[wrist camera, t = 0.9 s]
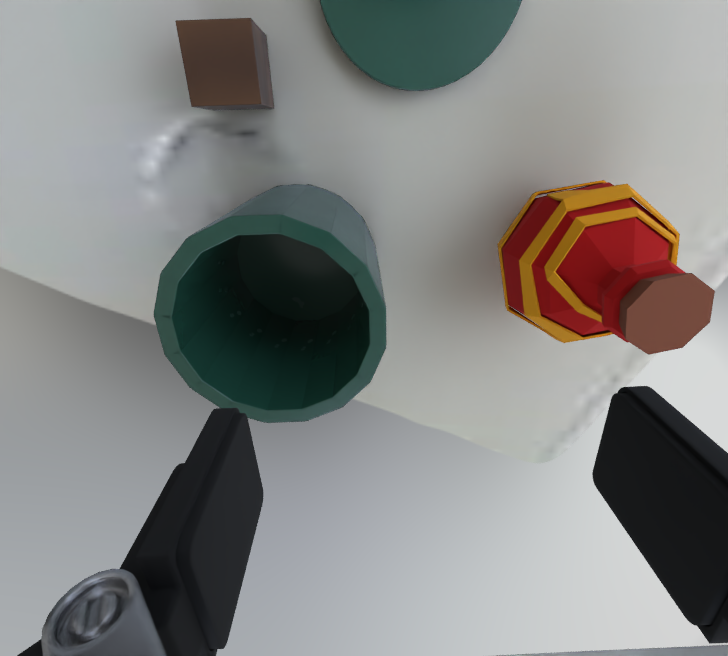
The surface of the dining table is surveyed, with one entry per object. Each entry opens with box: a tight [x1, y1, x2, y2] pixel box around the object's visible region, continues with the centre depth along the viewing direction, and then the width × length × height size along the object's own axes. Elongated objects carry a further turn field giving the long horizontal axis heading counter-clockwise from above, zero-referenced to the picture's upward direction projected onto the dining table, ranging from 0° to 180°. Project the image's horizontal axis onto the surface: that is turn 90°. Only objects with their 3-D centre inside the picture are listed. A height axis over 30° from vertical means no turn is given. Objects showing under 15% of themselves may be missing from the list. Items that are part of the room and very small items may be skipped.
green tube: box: [154, 184, 386, 423], centre depth 27 cm, size 12×12×13 cm
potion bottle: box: [498, 180, 715, 354], centre depth 25 cm, size 10×10×15 cm
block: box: [176, 18, 274, 111], centre depth 25 cm, size 4×4×4 cm
